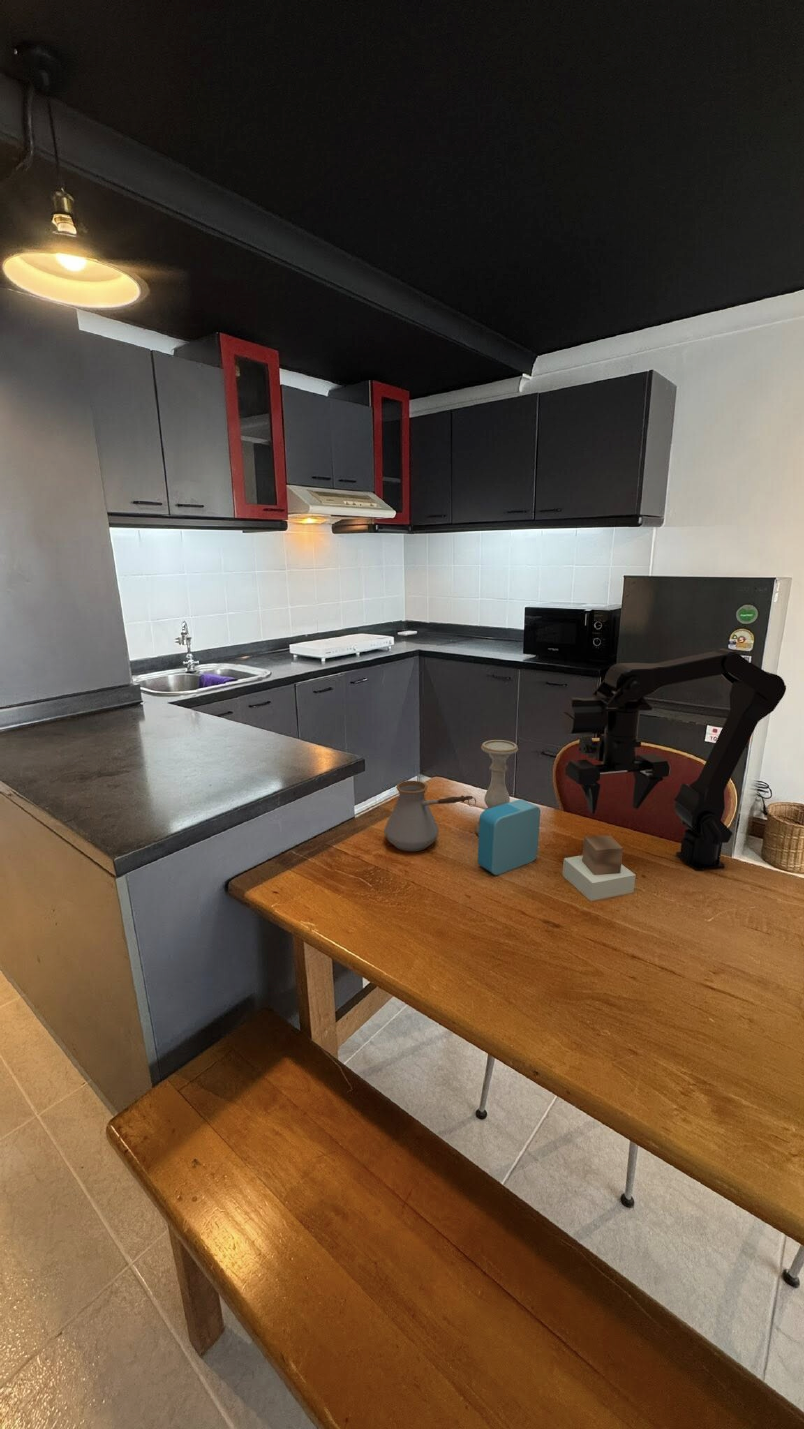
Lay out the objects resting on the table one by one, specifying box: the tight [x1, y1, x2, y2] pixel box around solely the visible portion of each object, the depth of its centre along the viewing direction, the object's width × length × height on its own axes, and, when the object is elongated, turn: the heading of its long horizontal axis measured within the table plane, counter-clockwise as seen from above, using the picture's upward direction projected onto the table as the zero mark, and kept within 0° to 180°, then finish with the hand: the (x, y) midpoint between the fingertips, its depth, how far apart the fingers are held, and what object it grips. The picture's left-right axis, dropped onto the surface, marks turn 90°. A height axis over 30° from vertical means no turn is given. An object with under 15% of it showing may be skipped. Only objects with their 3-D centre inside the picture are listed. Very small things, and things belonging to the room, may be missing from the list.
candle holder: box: [474, 739, 519, 837], centre depth 125 cm, size 9×9×20 cm
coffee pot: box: [383, 780, 477, 852], centre depth 119 cm, size 21×12×15 cm, turn 48°
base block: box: [562, 854, 636, 902], centre depth 108 cm, size 9×9×4 cm
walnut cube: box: [582, 834, 624, 875], centre depth 107 cm, size 5×5×5 cm
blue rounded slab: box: [477, 798, 541, 876], centre depth 114 cm, size 12×4×12 cm, turn 123°
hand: (613, 810), depth 112 cm, fingers open, 9 cm apart
